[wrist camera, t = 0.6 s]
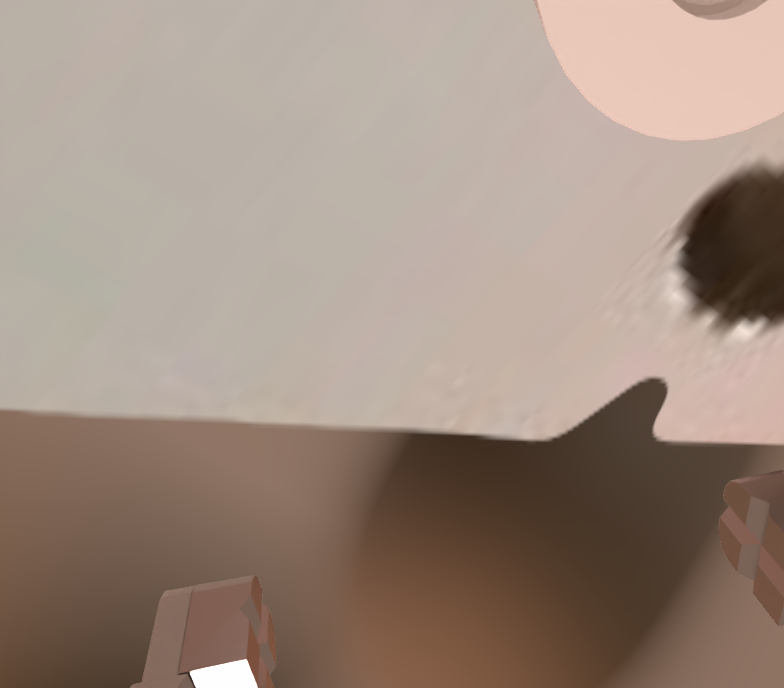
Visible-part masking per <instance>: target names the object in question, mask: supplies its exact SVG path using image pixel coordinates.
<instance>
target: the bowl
mask: <svg viewBox="0 0 784 688" xmlns="http://www.w3.org/2000/svg"><path fill="white" fill-rule="evenodd" d="M534 2H535V5H536V8H537V11H538V13H539V16H540V19H541V22H542V24H543V27H544V30H545V33H546V35H547V38H548V40H549V42H550V44H551V46H552V48H553V50H554V52H555V54H556V56H557V58H558V60H559V62H560V64H561V66H562V68H563V70H564V72H565V74H566V75H567V76H568V77H569V79H570V80H571V81H572V82H573V83H574V85H575V86H576V87H577V88H578V90H579V91H580V92H581V93H582V94H583V96H584V97H585V98H586V99H587V101H588V102H590V103H591V104H592V105H594V106H595V107H596V108H598V109H599V110H600V111H601V112H603V113H604V114H605V115H607V116H608V117H609V118H611V119H612V120H613V121H615V122H617V123H619V124H621V125H624V126H626V127H628V128H630V129H633V130H635V131H637V132H640V133H642V134H644V135H649V136H655V137H660V138H666V139H671V140H699V139H712V138H716V137H720V136H724V135H728V134H732V133H736V132H740V131H744V130H747V129H749V128H751V127H753V126H756V125H758V124H760V123H762V122H764V121H767V120H769V119H771V118H773V117H775V116H778V115H780V114H781V113H783V112H784V0H534Z"/></svg>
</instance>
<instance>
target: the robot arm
mask: <svg viewBox="0 0 784 688" xmlns="http://www.w3.org/2000/svg"><path fill="white" fill-rule="evenodd" d="M723 499H724V500H725V501H726V502H727V504H728V505H729V506H730V507H729V508H728V509H727V510H726V511H725V512H724V514H723V515H722V516H721V517H720V523H719V536H720V540H721V544H722V548H723V550H724V552H725V554H726V556H727V558H728V560H729V562H730V563H731V564H732V566H733V567H734V568H735V569H736V571H737V572H739V573H740V574H742V575H744V576H746V577H748V578H750V579H752V580H754V585H753V593H754V595H755V596H756V598H757V599H758V600H759V602H760V603H761V604H762V605H763V607H764V608H765V609H766V611H767V612H768V613H769V614H770V616H771V617H772V619H774V621H775V622H776V624H777V625H778V626H781V625H784V470H780V471H775V472H770V473H765V474H761V475H756V476H751V477H746V478H741V479H737V480H732V481H729V483H728V484H727V485H726V487H725V491H724V496H723ZM275 667H276V642H275V631H274V626H273V621H272V617H271V614H270V611H269V608H268V607H266V606H264V605H263V604H262V588H261V584H260V582H259V579H258V577H257V576H248V577H242V578H236V579H231V580H225V581H219V582H213V583H207V584H201V585H196V586H192V587H187V588H181V589H175V590H169V591H165V592H164V594H163V596H162V597H161V599H160V601H159V606H158V610H157V615H156V620H155V624H154V629H153V633H152V638H151V642H150V647H149V652H148V657H147V661H146V665H145V670H144V674H143V680H142V683H138V684H134V685H132V686H131V687H130V688H274V686H273V683H272V681H271V678H270V674H271V673H272V671H273V670H274V668H275Z"/></svg>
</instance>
